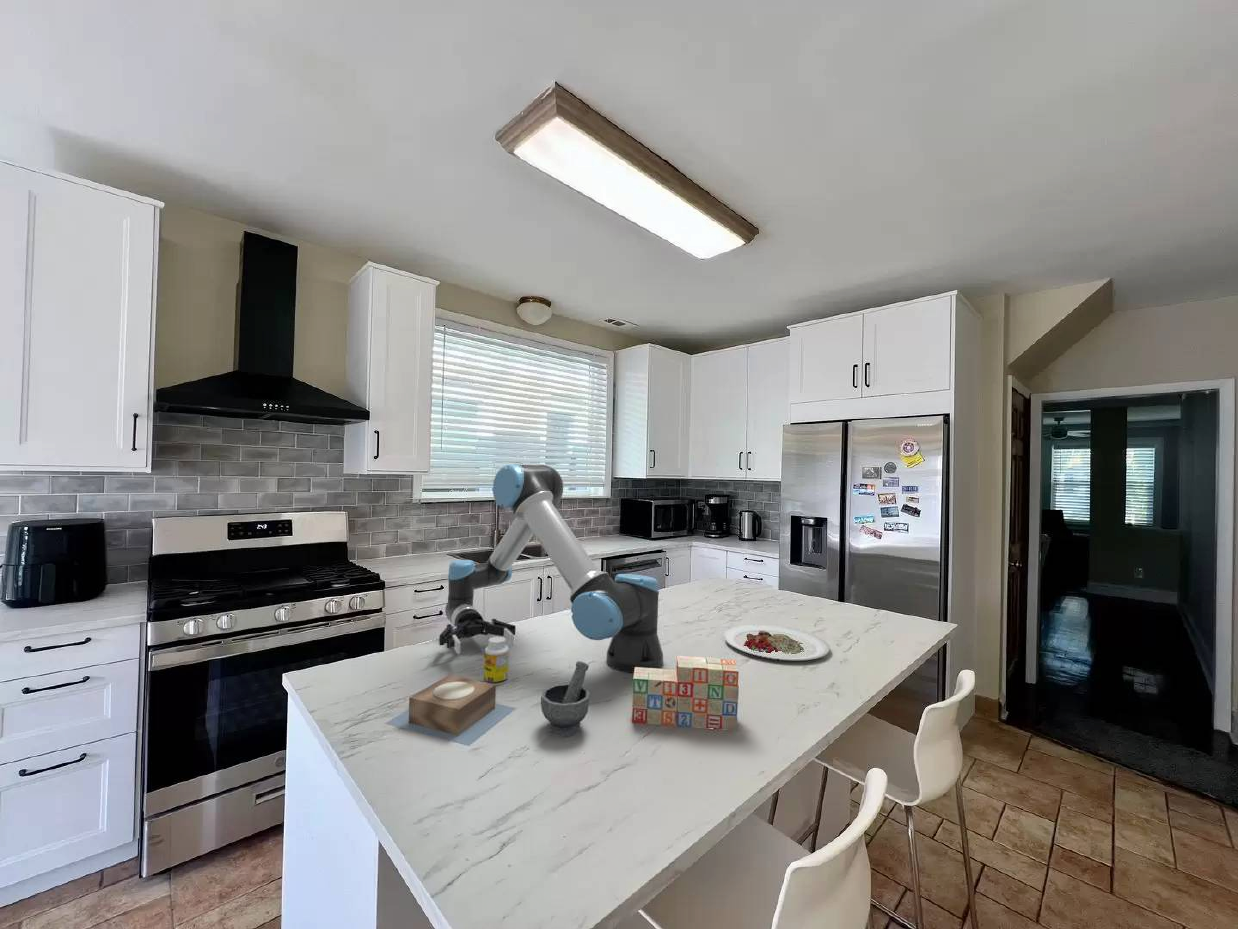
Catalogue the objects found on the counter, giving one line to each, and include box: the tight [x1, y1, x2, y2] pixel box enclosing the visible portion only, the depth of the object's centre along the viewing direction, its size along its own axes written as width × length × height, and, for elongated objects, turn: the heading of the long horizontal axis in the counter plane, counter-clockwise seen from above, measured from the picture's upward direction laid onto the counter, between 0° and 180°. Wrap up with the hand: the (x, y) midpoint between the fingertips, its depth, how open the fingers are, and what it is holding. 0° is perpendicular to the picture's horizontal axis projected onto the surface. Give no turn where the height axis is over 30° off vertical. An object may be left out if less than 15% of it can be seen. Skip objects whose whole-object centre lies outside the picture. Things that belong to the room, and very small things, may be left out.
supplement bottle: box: [483, 636, 510, 686], centre depth 123 cm, size 6×6×10 cm
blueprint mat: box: [384, 702, 517, 746], centre depth 106 cm, size 20×16×1 cm
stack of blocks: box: [631, 655, 740, 731], centre depth 107 cm, size 21×6×12 cm, turn 84°
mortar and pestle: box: [540, 660, 591, 738], centre depth 103 cm, size 11×9×12 cm
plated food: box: [723, 624, 831, 661], centre depth 154 cm, size 30×30×3 cm
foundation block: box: [408, 674, 497, 736], centre depth 106 cm, size 12×12×5 cm
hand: (486, 644), depth 132 cm, fingers open, 13 cm apart
